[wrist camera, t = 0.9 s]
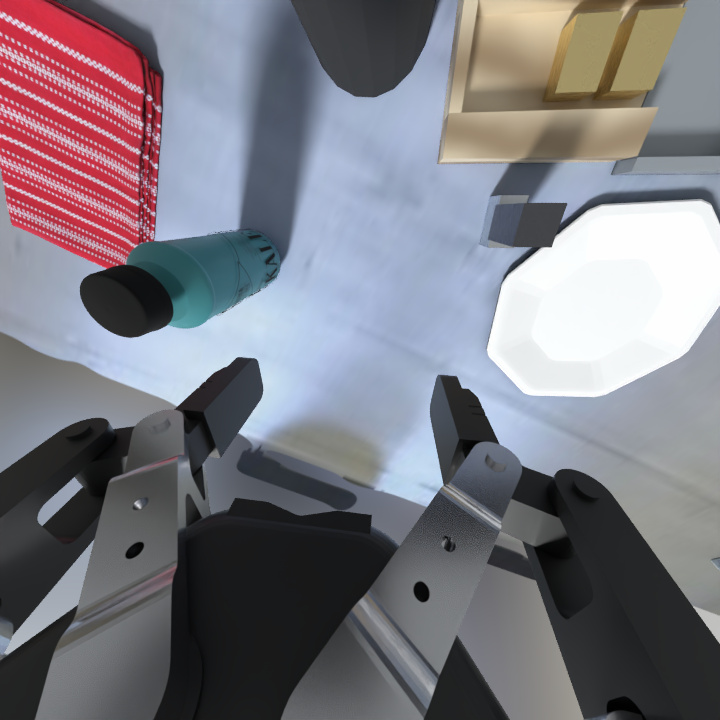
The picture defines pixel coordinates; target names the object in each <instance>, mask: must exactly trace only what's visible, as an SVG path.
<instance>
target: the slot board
mask: <svg viewBox="0 0 720 720" xmlns="http://www.w3.org/2000/svg"><path fill="white" fill-rule="evenodd" d="M687 1H689V0H458V6H457V13H456V21H455V29H454V37H453V45H452V53H451V61H450V69H449V77H448V84H447V92H446V100H445V108H444V116H443V124H442V132H441V140H440V147H439V155H438V163H437V164H473V163H559V162H613V161H617V160H622V159H626V158H631V157H635V156H638V153H639V151H640V149H641V147H642V144H643V142H644V140H645V138H646V135H647V133H648V131H649V129H650V126H651V124H652V122H653V120H654V117H655V115H656V113H657V111H658V108H659V107H645V108H641V106H642V103H643V101H644V99H645V96H646V94H647V92H646V93H644V94H642V95H640V96H638V97H635V98H633V99H630V100H598V101H592V100H593V98H594V95H595V93H593V94H591V95H589V96H588V97H586V98H584V99H582V100H581V101H566V102H542V101H543V97H544V94H545V90H546V86H547V83H548V79H549V75H550V71H551V68H552V64H553V60H554V57H555V53H556V49H557V45H558V42H559V38H560V34H561V31H562V30H563V29H564V28H565V27H566V26H567V25H568V23H569V22H570V21H571V20H572V19H573V18H574V17H575V16H576V15H577V14H582V13H599V12H616V11H624V12H623V15H622V18H621V21H620V24H619V26H620V25H622V24H623V23H624V22H625V21H627V20H628V19H629V18H630V17H631V16H633V15H634V14H635V13H636V12H638V11H639V10H650V9H667V8H682V7H683V5H684V3H686V2H687Z"/></svg>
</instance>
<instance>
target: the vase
mask: <svg viewBox="0 0 720 720" xmlns="http://www.w3.org/2000/svg"><path fill="white" fill-rule="evenodd" d="M291 2H292V4H293V6H294V8H295V10H296V12H297V14H298V16H299V19H300V21H301V23H302V25H303V27H304V29H305V31H306V33H307V36H308V38H309V40H310V42H311V44H312V46H313V48H314V50H315V53H316V55H317V57H318V59H319V61H320V63H321V65H322V67H323V69H324V70H325V71H326V72H327V74H328V75H329V76H330V77H331V79H332V80H333V81H334V82H335V84H336V85H337V86H338V87H340V88H341V89H343V90H345V91H347V92H349V93H350V94H352V95H354V96H357V97H377V96H379V95H381V94H383V93H386V92H388V91H390V90H392V89H394V88H395V87H396V86H397V85H398V84H399V83H400V82H401V81H402V80H403V79H404V78H405V77H406V76H407V75H408V74H409V73H410V72H411V71H412V69H413V67H414V65H415V63H416V61H417V59H418V57H419V55H420V54H421V52H422V50H423V48H424V46H425V43H426V39H427V35H428V31H429V27H430V23H431V19H432V15H433V11H434V6H435V2H436V0H291Z"/></svg>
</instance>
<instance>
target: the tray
mask: <svg viewBox="0 0 720 720" xmlns="http://www.w3.org/2000/svg"><path fill="white" fill-rule="evenodd" d="M684 7H687V9H686V12H685V14H684V16H683V19H682V21H681V23H680V26H679V28H678V30H677V33H676V35H675V38H674V40H673V42H672V45H671V47H670V49H669V52H668V54H667V57H666V59H665V61H664V64H663V66H662V68H661V71H660V73H659V76H658V78H657V80H656V83H655V85H654V87H653V90H651V91H648V92H647V94H646V96H645V99H644V101H643V103H642V106H641V108H645V107H659V108H658V111H657V113H656V115H655V117H654V120H653V122H652V124H651V126H650V129H649V131H648V133H647V135H646V138H645V140H644V142H643V144H642V147H641V149H640V151H639V153H638V156H635V157H631V158H626V159H622V160H617V162H616V164H615V167H614V169H613V171H612V174H611V175H670V174H720V0H689V1H687V2H686V3H684V5H683V7H682V8H684Z"/></svg>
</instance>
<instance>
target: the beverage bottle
mask: <svg viewBox="0 0 720 720" xmlns="http://www.w3.org/2000/svg"><path fill="white" fill-rule="evenodd" d="M239 230H240V229H239ZM239 230H237V231H236V232H229V231H227V232H225V233H220V232H218V233H219V234H212V235H207V236H200V237H192V238H184V239H176V240H168V241H151V242H145V243H142V244H140V245H138V246H136V247H135V248H134V249H133V250H132V251H131V252H130V254H129V255H128V258H127V261H126V265H118V266H113V267H110V268H108V269H106V270H103V271H100V272H96V273H93V274H90V275H88V276H87V277H85V278H84V279H83V281H82V283H81V285H80V296H81V299H82V302H83V304H84V306H85V308H86V309H87V311H88V312H89V314H90V315H91V316H92V317H93V318H94V319H95V321H97V322H98V323H99V324H100V325H101V326H102V327H104V328H105V329H107V330H108V331H110V332H112V333H114V334H116V335H119V336H123V337H129V338H132V337H139V336H142V335H144V334H147V333H149V332H152V331H156V330H159V329H161V328H163V327H165V326H167V325H170V326H173V327H177V328H194V327H197V326H199V325H201V324H203V323H205V322H206V321H207V320H208V319H210V318H211V317H213V316H215V315H217V314H219V313H221V312H222V313H224V312H226V311H227V308H229V307H231V306H232V307H234V306H236V305H237V304H236V303H238V302H239V301H240V302H241V300H242V301H243V300H244V298H246V297H248V296H249V297H250V296H251V295H252V296H253V293H254V292H255V293H258V292H259V291H261V290H260V289H261V288H263V287H264V286H266V285H267V286H268V284H270V283H271V282H272V281H274V280H275V278H276V277H277V275H278V273H279V272H280V271H279V270H280V257H279V254H278V251H277V249H276V247H275V246H274V244H273V243H272V242H271V241H270V239H269V238H267V237H266V236H264V235H263V234H261V232H260V233H259V231H258V232H257V231H252V230H249V229H246V230H245V231H239ZM230 231H232V230H230ZM233 231H234V230H233ZM221 232H222V231H221ZM211 233H212V232H211ZM215 233H216V232H215ZM209 234H210V233H209ZM272 283H273V282H272ZM264 288H265V287H264ZM258 290H259V291H258ZM256 291H258V292H256ZM255 293H254V294H255ZM246 299H247V298H246ZM238 304H239V303H238ZM232 307H231V308H232ZM224 310H226V311H224ZM229 310H230V309H229Z"/></svg>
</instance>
